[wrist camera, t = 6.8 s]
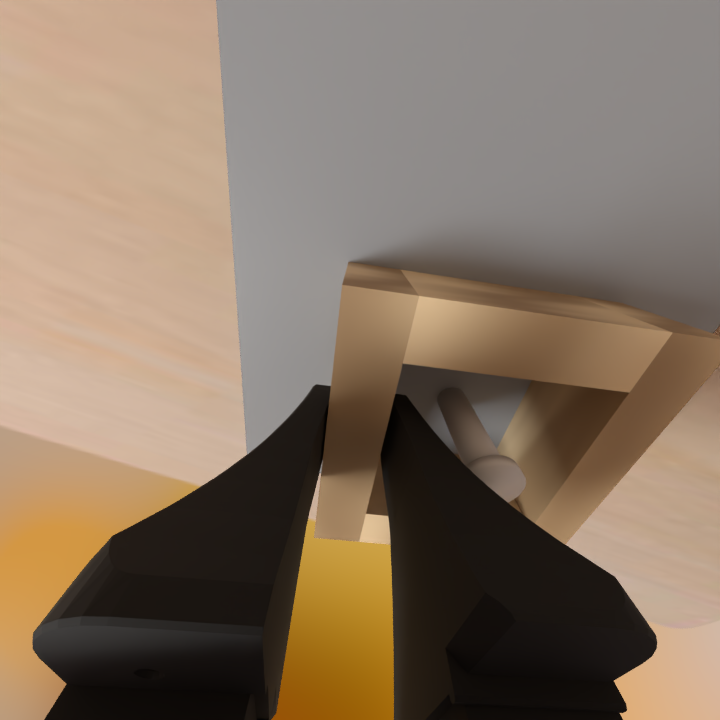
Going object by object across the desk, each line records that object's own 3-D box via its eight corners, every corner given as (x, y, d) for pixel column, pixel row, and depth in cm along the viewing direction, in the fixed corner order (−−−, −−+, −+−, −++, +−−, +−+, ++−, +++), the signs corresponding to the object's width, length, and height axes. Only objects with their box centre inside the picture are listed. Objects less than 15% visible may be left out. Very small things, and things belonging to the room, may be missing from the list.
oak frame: (621, 302, 10) (738, 342, 7) (512, 485, 15) (552, 558, 12) (348, 261, 9) (342, 284, 6) (324, 466, 14) (314, 537, 11)
